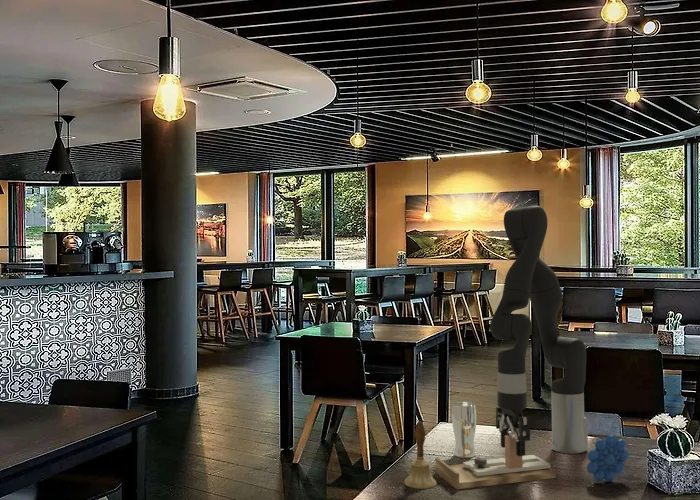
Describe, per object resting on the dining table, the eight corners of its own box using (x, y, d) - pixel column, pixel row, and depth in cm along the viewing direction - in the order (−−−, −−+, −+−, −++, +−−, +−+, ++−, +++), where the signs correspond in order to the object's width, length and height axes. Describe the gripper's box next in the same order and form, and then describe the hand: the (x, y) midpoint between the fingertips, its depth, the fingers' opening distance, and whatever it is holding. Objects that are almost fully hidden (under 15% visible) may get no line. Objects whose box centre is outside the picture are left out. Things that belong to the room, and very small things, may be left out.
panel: (533, 458, 195) (532, 425, 195) (550, 468, 186) (549, 434, 186) (463, 465, 189) (462, 432, 189) (477, 476, 180) (477, 441, 180)
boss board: (528, 462, 197) (528, 446, 197) (555, 477, 184) (555, 460, 183) (435, 472, 190) (435, 455, 190) (456, 489, 176) (456, 471, 176)
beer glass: (476, 459, 201) (475, 406, 201) (452, 458, 202) (451, 406, 202) (477, 452, 208) (476, 401, 208) (453, 451, 209) (452, 400, 209)
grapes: (619, 474, 185) (619, 429, 185) (634, 483, 178) (633, 435, 178) (579, 478, 183) (578, 432, 183) (592, 486, 176) (591, 439, 176)
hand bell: (438, 479, 184) (437, 418, 184) (434, 490, 176) (433, 426, 176) (406, 477, 186) (405, 417, 186) (401, 488, 178) (400, 425, 178)
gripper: (538, 393, 179) (539, 457, 179) (511, 383, 192) (512, 443, 192) (511, 395, 177) (512, 460, 177) (486, 385, 191) (487, 445, 190)
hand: (512, 451), depth 185 cm, fingers open, 8 cm apart
